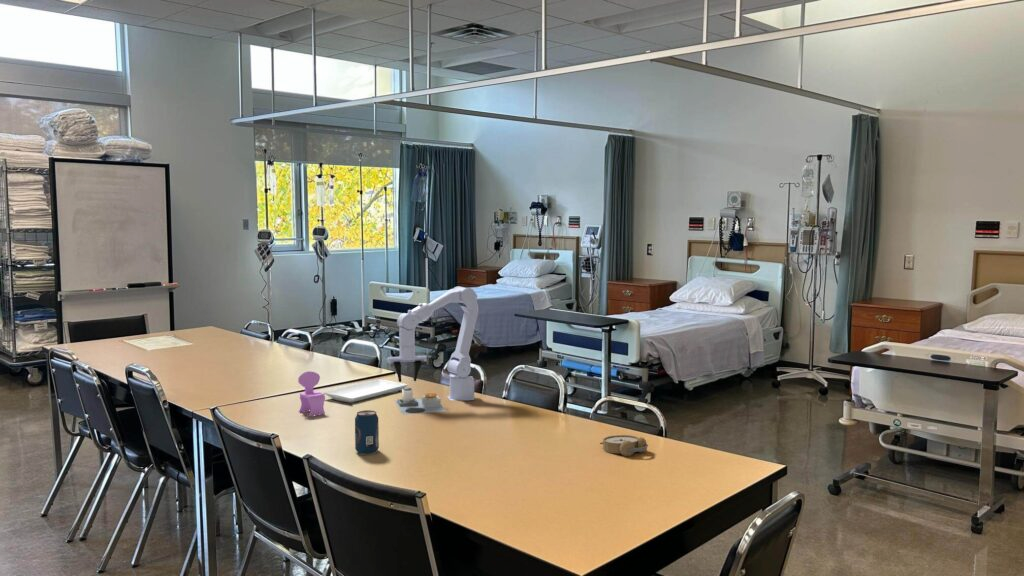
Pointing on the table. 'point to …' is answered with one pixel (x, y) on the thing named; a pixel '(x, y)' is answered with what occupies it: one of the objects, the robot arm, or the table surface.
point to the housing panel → (422, 405)
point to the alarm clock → (624, 444)
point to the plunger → (430, 396)
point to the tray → (365, 390)
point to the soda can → (366, 432)
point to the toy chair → (311, 394)
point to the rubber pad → (415, 410)
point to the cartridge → (407, 395)
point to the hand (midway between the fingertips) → (407, 381)
